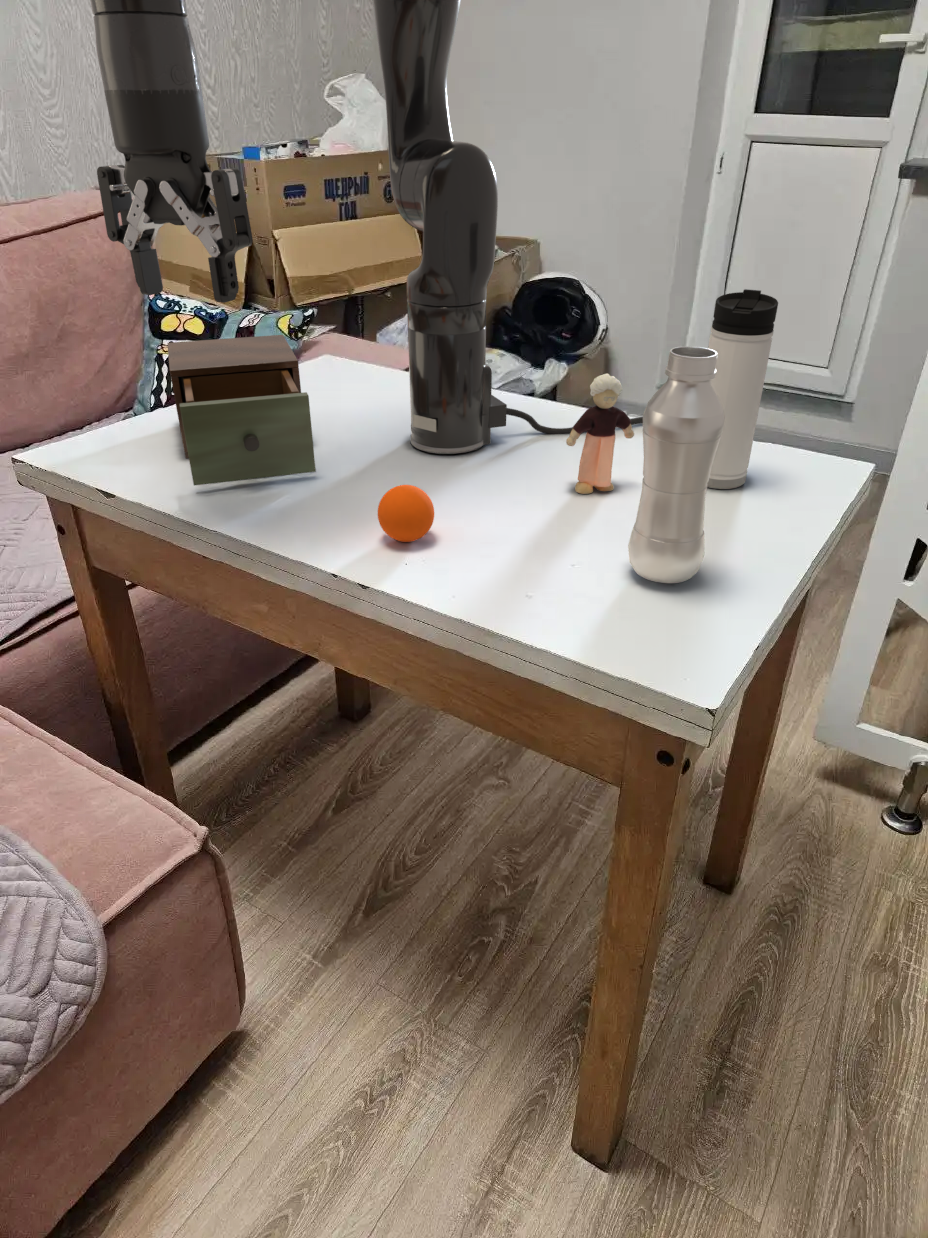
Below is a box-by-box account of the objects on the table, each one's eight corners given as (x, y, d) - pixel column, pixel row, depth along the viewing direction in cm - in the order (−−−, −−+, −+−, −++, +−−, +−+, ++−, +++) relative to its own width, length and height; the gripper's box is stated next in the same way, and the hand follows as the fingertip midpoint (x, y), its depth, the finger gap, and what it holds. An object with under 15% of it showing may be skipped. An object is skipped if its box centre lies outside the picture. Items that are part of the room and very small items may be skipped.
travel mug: (749, 473, 98) (784, 291, 88) (740, 493, 93) (775, 303, 82) (695, 464, 100) (723, 286, 90) (683, 484, 95) (710, 297, 85)
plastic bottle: (701, 596, 74) (741, 364, 63) (623, 588, 75) (649, 359, 64) (699, 562, 79) (735, 344, 69) (625, 555, 80) (651, 340, 70)
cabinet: (306, 446, 106) (298, 360, 100) (185, 458, 102) (169, 370, 96) (291, 413, 117) (282, 334, 111) (181, 423, 113) (167, 342, 107)
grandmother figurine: (578, 500, 91) (587, 383, 85) (559, 487, 94) (566, 373, 88) (635, 487, 94) (649, 373, 88) (615, 475, 97) (626, 364, 91)
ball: (423, 523, 86) (422, 472, 83) (443, 545, 82) (442, 493, 79) (371, 532, 85) (368, 480, 82) (389, 555, 80) (386, 502, 77)
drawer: (317, 475, 95) (310, 398, 90) (194, 489, 91) (180, 410, 87) (299, 436, 106) (292, 365, 101) (189, 447, 102) (176, 374, 98)
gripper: (253, 84, 68) (277, 296, 77) (120, 86, 73) (157, 284, 82) (190, 84, 62) (224, 312, 71) (51, 85, 68) (98, 298, 76)
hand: (188, 297), depth 76 cm, fingers open, 8 cm apart
